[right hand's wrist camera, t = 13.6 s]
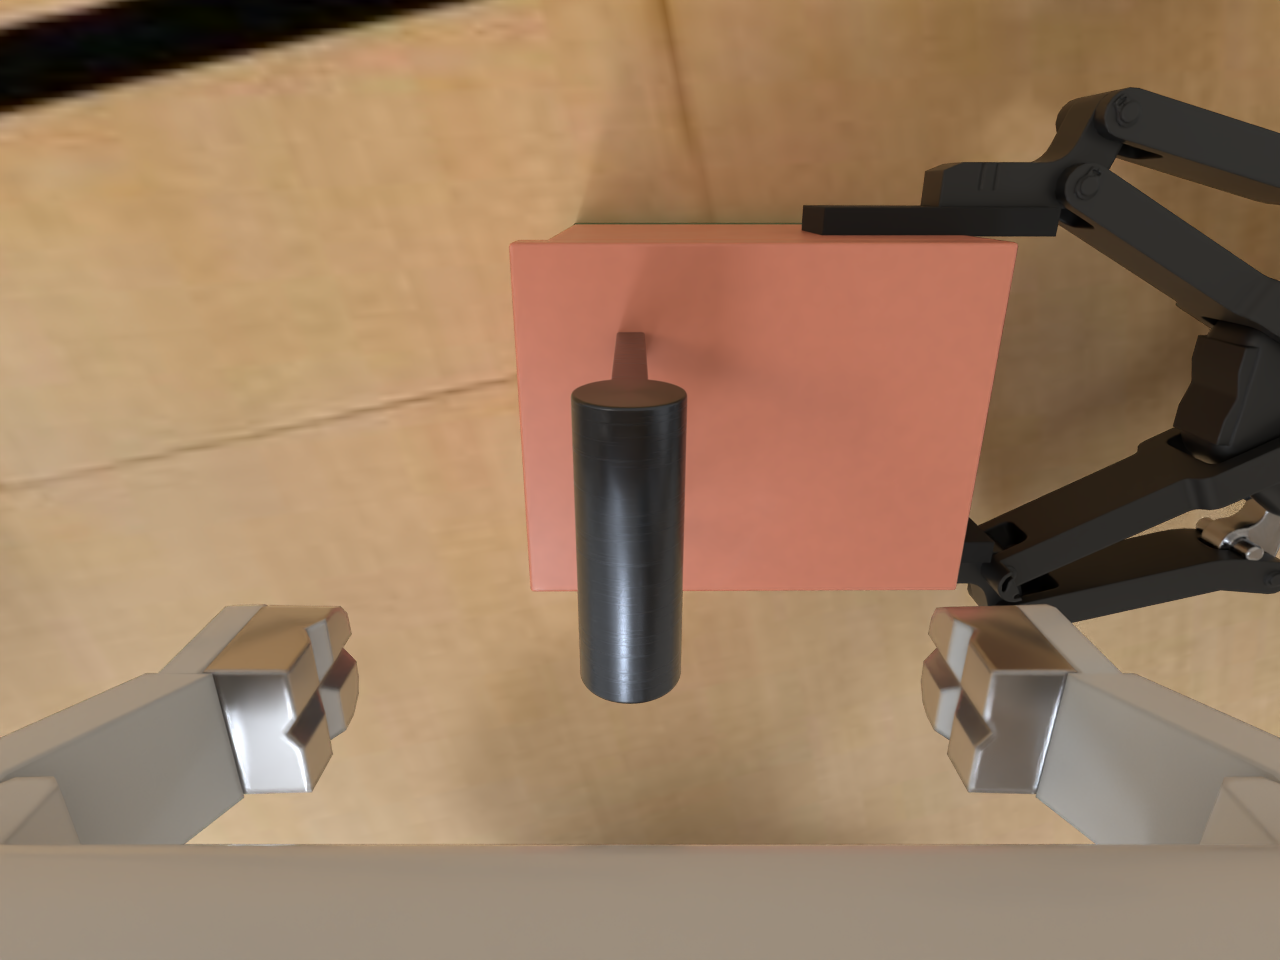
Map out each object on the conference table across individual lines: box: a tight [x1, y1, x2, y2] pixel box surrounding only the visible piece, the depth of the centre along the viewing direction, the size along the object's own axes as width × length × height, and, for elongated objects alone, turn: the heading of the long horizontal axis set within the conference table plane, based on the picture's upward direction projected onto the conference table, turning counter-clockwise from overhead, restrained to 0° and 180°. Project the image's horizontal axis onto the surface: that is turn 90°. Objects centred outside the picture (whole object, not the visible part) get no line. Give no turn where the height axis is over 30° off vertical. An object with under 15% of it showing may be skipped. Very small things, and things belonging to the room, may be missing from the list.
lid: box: [509, 240, 1018, 704], centre depth 16 cm, size 12×10×8 cm
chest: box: [549, 223, 995, 240], centre depth 25 cm, size 11×10×10 cm
